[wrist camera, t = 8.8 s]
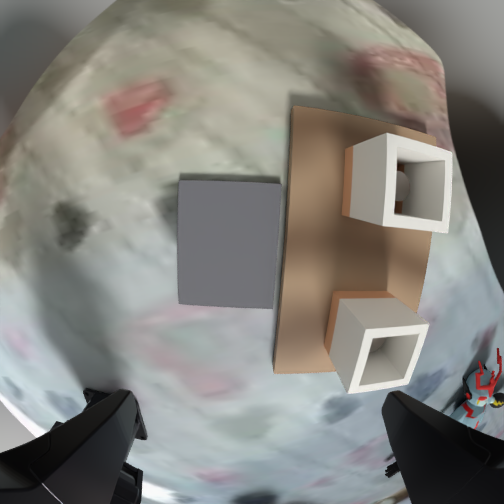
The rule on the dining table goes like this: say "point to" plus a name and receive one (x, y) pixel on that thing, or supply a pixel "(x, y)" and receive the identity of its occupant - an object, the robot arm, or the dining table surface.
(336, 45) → the dining table surface
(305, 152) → the pin board
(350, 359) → the sleeve seated
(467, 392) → the toy
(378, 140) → the sleeve loose
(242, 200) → the mat
